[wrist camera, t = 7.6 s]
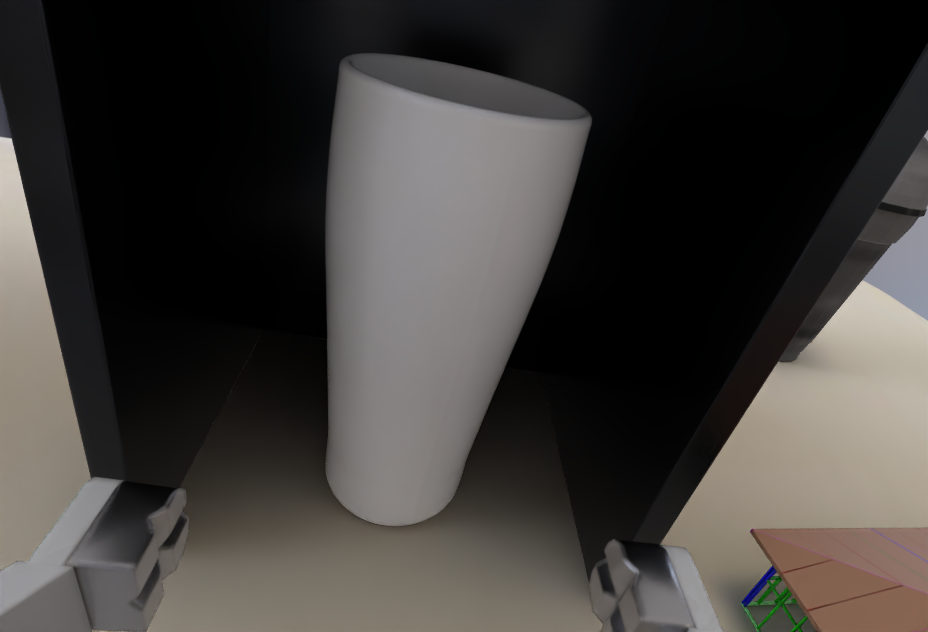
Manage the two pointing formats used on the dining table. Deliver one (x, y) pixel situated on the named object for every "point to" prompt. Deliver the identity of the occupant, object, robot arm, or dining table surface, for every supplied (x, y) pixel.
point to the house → (847, 577)
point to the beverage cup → (870, 245)
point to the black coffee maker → (579, 243)
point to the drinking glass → (431, 265)
